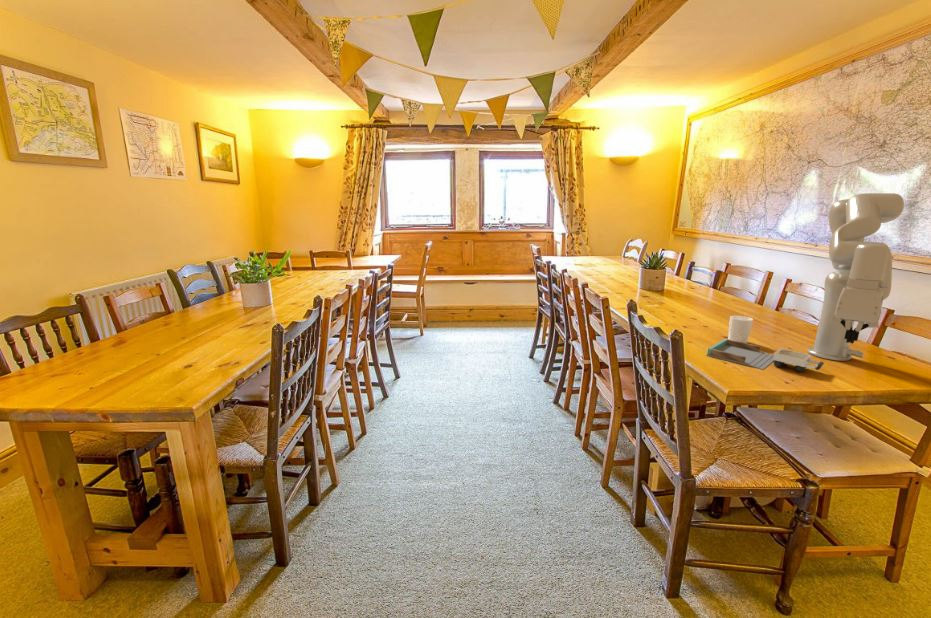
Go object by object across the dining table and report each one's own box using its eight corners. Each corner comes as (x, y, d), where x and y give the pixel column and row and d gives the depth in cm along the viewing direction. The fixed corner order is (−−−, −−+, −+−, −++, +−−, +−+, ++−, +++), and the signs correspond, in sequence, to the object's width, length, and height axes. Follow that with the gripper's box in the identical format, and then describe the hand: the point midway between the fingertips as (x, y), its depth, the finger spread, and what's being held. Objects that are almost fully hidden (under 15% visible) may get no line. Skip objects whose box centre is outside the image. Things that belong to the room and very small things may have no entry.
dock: (778, 356, 158) (779, 350, 157) (763, 369, 146) (764, 362, 145) (724, 344, 171) (725, 338, 170) (706, 355, 158) (707, 348, 158)
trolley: (822, 371, 144) (825, 357, 143) (817, 377, 139) (820, 363, 138) (777, 361, 154) (780, 348, 152) (771, 366, 148) (773, 353, 147)
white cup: (752, 345, 170) (756, 321, 168) (730, 343, 172) (734, 319, 169) (743, 339, 178) (748, 316, 175) (723, 337, 179) (727, 314, 177)
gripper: (899, 287, 127) (884, 345, 131) (834, 280, 138) (822, 334, 142) (896, 289, 122) (881, 350, 126) (829, 282, 133) (817, 338, 137)
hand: (850, 342), depth 134 cm, fingers closed
